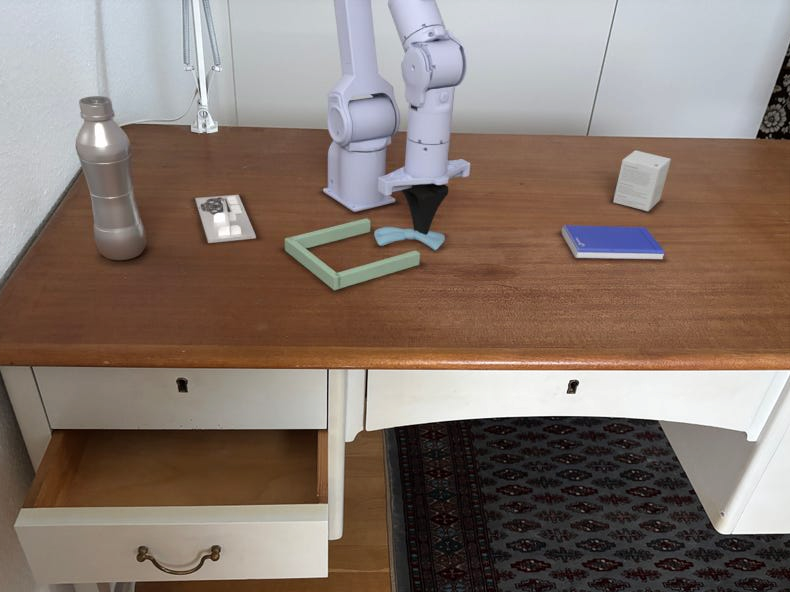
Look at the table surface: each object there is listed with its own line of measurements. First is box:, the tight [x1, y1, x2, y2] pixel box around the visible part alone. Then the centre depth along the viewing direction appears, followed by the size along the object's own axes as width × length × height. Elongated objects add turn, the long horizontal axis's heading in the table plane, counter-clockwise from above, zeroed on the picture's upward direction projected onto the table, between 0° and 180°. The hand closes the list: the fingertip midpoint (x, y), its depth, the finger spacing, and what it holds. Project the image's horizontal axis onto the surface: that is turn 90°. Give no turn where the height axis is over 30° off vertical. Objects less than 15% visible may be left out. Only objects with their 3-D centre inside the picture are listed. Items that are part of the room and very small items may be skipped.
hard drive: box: [561, 224, 665, 260], centre depth 103 cm, size 2×8×12 cm
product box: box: [612, 150, 672, 212], centre depth 116 cm, size 6×6×7 cm
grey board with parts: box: [194, 194, 257, 244], centre depth 105 cm, size 15×7×4 cm, turn 18°
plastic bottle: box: [74, 95, 147, 261], centre depth 90 cm, size 6×7×20 cm
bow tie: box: [373, 226, 446, 251], centre depth 102 cm, size 10×2×5 cm
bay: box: [284, 217, 421, 291], centre depth 97 cm, size 13×14×2 cm
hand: (420, 232), depth 103 cm, fingers closed
